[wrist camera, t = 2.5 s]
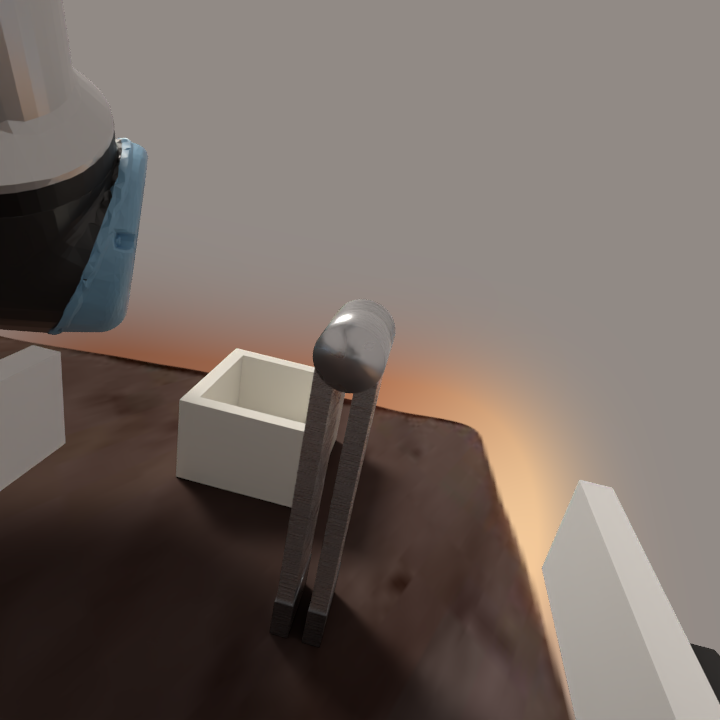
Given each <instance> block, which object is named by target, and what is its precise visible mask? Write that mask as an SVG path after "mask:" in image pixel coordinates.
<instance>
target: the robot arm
mask: <svg viewBox="0 0 720 720" xmlns="http://www.w3.org/2000/svg"><path fill="white" fill-rule="evenodd" d="M147 159H148V156H147V152H146V150H145V149H144V148H143V147H142V146H140V145H138V144H135V143H132V142H131V141H130V140H128V139H127V138H118V139H115V132H114V121H113V116H112V112H111V109H110V105H109V103H108V101H107V100H106V98H105V96H104V95H103V94H102V92H101V91H100V90H99V89H98V88H97V87H96V86H95V85H94V84H93V83H92V82H91V81H90V80H89V79H88V78H87V77H85V76H84V75H83V74H81V73H80V72H79V71H77V70H76V69H75V68H73V67H72V61H71V54H70V47H69V41H68V34H67V27H66V20H65V15H64V7H63V1H62V0H0V329H3V330H17V331H31V332H44V333H48V334H52V335H56V334H60V333H61V332H105V331H108V330H111V329H113V328H115V327H116V326H118V325H119V324H120V323H121V322H122V321H123V319H124V317H125V315H126V313H127V309H128V302H129V296H130V289H131V281H132V274H133V268H134V260H135V252H136V246H137V238H138V231H139V223H140V215H141V208H142V201H143V193H144V186H145V178H146V170H147ZM64 444H65V428H64V409H63V391H62V372H61V354H60V352H58V351H54V350H50V349H46V348H42V347H38V346H34V345H32V346H30V347H28V348H26V349H23V350H21V351H19V352H17V353H14V354H12V355H10V356H8V357H5V358H3V359H1V360H0V491H1V490H2V489H4V488H5V487H6V486H8V485H9V484H10V483H12V482H13V481H15V480H16V479H17V478H19V477H20V476H21V475H23V474H24V473H25V472H27V471H28V470H30V469H31V468H32V467H34V466H35V465H36V464H38V463H39V462H40V461H42V460H43V459H45V458H46V457H47V456H49V455H50V454H51V453H53V452H54V451H55V450H57V449H58V448H60V447H61V446H62V445H64ZM542 571H543V576H544V580H545V585H546V589H547V593H548V598H549V602H550V607H551V611H552V615H553V620H554V625H555V629H556V634H557V638H558V643H559V647H560V652H561V656H562V660H563V665H564V669H565V673H566V678H567V683H568V687H569V692H570V696H571V701H572V705H573V710H574V714H575V719H576V720H720V656H719V654H718V653H717V652H716V651H715V650H713V649H709V648H705V647H701V646H698V645H694V644H691V643H689V641H688V639H687V637H686V635H685V633H684V631H683V629H682V627H681V625H680V623H679V621H678V619H677V617H676V615H675V613H674V611H673V609H672V607H671V605H670V603H669V601H668V599H667V597H666V595H665V593H664V591H663V589H662V587H661V585H660V583H659V580H658V579H657V576H656V574H655V572H654V571H653V568H652V566H651V564H650V562H649V560H648V558H647V556H646V554H645V552H644V550H643V548H642V546H641V544H640V543H639V540H638V538H637V536H636V534H635V532H634V530H633V528H632V526H631V524H630V522H629V520H628V518H627V516H626V514H625V512H624V510H623V508H622V506H621V504H620V502H619V500H618V498H617V496H616V494H615V492H614V490H613V488H611V487H607V486H603V485H599V484H595V483H591V482H587V481H583V480H579V482H578V484H577V486H576V489H575V491H574V493H573V496H572V498H571V501H570V503H569V505H568V508H567V510H566V512H565V515H564V517H563V520H562V522H561V524H560V526H559V529H558V531H557V533H556V536H555V538H554V541H553V543H552V545H551V548H550V550H549V552H548V555H547V557H546V559H545V562H544V564H543V566H542Z"/></svg>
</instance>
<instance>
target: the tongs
mask: <svg viewBox="0 0 720 720" xmlns="http://www.w3.org/2000/svg"><path fill="white" fill-rule="evenodd" d="M394 338H395V324H394V321H393V318H392V317H391V314H390V313H389V312H388V310H386V308H384V307H383V306H382V305H380V304H379V303H377V302H375V301H372V300H367V299H357V300H353V301H351V302H348V303H347V304H345V305H344V306H342V307H341V308H340V309H339V311H338V312H337V313H336V315H335V316H334V318H333V319H332V320H331V322H330V323H329V325H328V326H327V327H326V329H325V330H324V332H323V333H322V334H321V336H320V337H319V339H318V340H317V342H316V344H315V347H314V350H313V362H314V366H315V369H314V375H313V381H312V387H311V393H310V399H309V405H308V411H307V417H306V423H305V429H304V435H303V441H302V447H301V453H300V459H299V465H298V471H297V477H296V483H295V489H294V496H293V502H292V508H291V514H290V520H289V526H288V532H287V538H286V544H285V550H284V556H283V562H282V568H281V574H280V580H279V586H278V592H277V597H276V599H275V602H274V608H273V615H272V621H271V627H270V633H271V634H275V635H278V636H281V637H285V638H287V637H288V634H289V631H290V628H291V626H292V623H293V620H294V617H295V614H296V611H297V608H298V605H299V602H300V599H301V596H302V593H303V590H304V587H305V584H306V580H307V575H308V570H309V565H310V559H311V549H312V544H313V538H314V533H315V528H316V523H317V518H318V513H319V508H320V502H321V497H322V492H323V487H324V482H325V477H326V471H327V466H328V461H329V456H330V451H331V446H332V440H333V435H334V430H335V425H336V420H337V415H338V409H339V404H340V399H341V394H342V392H344V393H353V398H352V403H351V408H350V413H349V418H348V423H347V428H346V432H345V437H344V442H343V447H342V452H341V457H340V462H339V467H338V472H337V476H336V481H335V486H334V491H333V496H332V501H331V506H330V511H329V516H328V520H327V525H326V530H325V535H324V540H323V545H322V550H321V555H320V560H319V564H318V569H317V574H316V579H315V584H314V589H313V594H312V599H311V603H310V606H309V609H308V613H307V618H306V622H305V627H304V632H303V637H302V643H306V644H309V645H312V646H316V647H320V643H321V640H322V636H323V632H324V628H325V625H326V621H327V617H328V614H329V610H330V606H331V602H332V599H333V595H334V591H335V587H336V582H337V578H338V574H339V569H340V565H341V562H340V561H341V556H342V552H343V548H344V543H345V539H346V534H347V530H348V526H349V521H350V517H351V512H352V508H353V504H354V499H355V495H356V490H357V486H358V482H359V477H360V473H361V468H362V464H363V460H364V455H365V451H366V446H367V442H368V438H369V433H370V429H371V424H372V420H373V416H374V411H375V407H376V402H377V398H378V393H379V389H380V385H381V380H382V375H383V373H384V370H385V367H386V363H387V360H388V357H389V354H390V351H391V347H392V344H393V341H394Z"/></svg>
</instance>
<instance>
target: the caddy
mask: <svg viewBox="0 0 720 720" xmlns="http://www.w3.org/2000/svg"><path fill="white" fill-rule="evenodd" d="M314 369H315V367H311V366H307V365H303V364H299V363H294V362H290V361H287V360H283V359H278V358H274V357H270V356H266V355H262V354H258V353H254V352H250V351H246V350H242V349H238V348H236V349H235V350H234V351H233V352H232V353H231V354H230V355H229V356H227V357H226V358H225V359H224V360H223V361H222V362H221V363H220V364H219V365H217V366H216V367H215V368H214V369H213V370H212V371H211V372H210V373H209V374H208V375H206V376H205V377H204V378H203V379H202V380H201V381H200V382H199V383H198V384H197V385H195V386H194V387H193V388H192V389H191V390H190V391H189V392H188V393H187V394H186V395H184V396H183V397H182V398H181V399H180V404H179V425H178V446H177V467H176V477H180V478H183V479H187V480H191V481H195V482H198V483H202V484H206V485H209V486H213V487H217V488H221V489H224V490H228V491H232V492H236V493H239V494H243V495H247V496H250V497H254V498H258V499H262V500H265V501H269V502H273V503H276V504H280V505H284V506H288V507H291V508H292V502H293V496H294V489H295V483H296V477H297V471H298V465H299V459H300V453H301V447H302V441H303V435H304V429H305V423H306V417H307V411H308V405H309V399H310V393H311V387H312V381H313V375H314ZM344 396H345V393H344V392H342V394H341V399H340V404H339V409H338V415H337V420H336V425H335V430H334V435H333V440H332V446H331V451H332V448H333V446H334V443H335V441H336V437H337V432H338V427H339V422H340V417H341V412H342V406H343V401H344ZM331 451H330V453H331Z"/></svg>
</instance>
